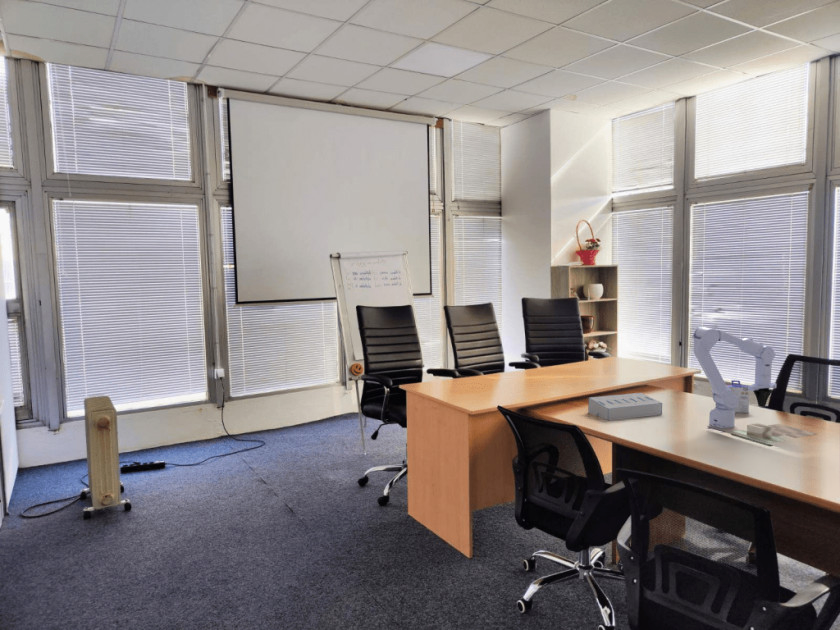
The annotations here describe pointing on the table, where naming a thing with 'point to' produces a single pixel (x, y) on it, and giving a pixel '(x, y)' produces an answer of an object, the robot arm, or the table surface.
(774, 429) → the trap board
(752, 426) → the birch block
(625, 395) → the warehouse
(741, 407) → the ink cartridge box
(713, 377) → the robot arm
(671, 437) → the table surface
